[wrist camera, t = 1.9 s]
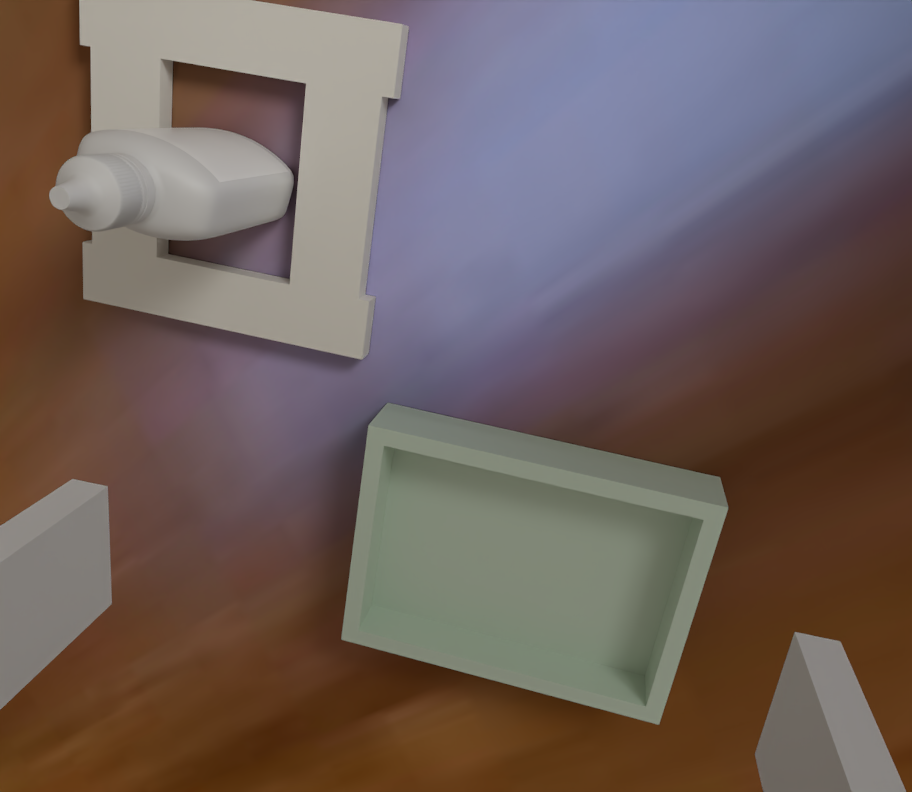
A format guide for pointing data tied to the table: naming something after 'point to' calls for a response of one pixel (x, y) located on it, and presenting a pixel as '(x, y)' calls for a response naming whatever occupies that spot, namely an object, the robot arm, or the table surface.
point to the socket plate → (320, 169)
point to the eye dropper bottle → (172, 183)
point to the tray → (529, 559)
